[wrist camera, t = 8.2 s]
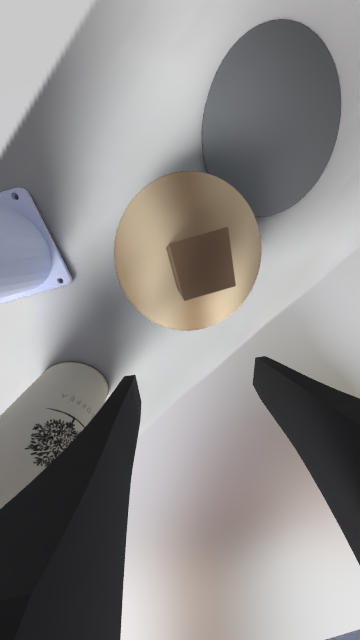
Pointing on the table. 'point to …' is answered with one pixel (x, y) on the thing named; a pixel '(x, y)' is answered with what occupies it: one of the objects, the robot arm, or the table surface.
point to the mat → (272, 115)
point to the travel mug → (46, 422)
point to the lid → (187, 250)
